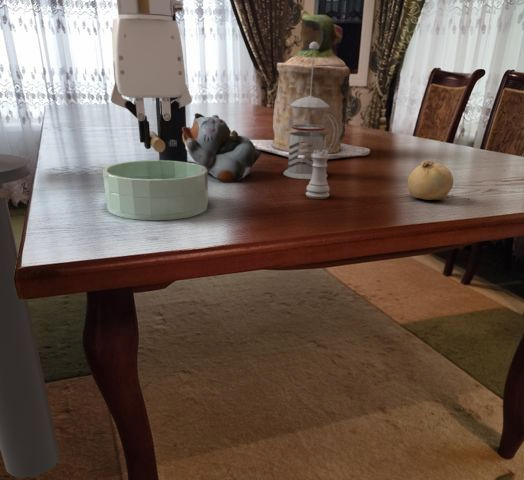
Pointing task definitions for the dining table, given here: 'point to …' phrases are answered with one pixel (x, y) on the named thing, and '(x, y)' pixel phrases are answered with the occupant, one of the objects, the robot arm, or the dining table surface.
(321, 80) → the cookie jar
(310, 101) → the french press
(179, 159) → the black water bottle
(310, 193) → the rook chess piece
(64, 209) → the dining table surface
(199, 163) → the lucky cat figurine
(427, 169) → the onion
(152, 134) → the stick
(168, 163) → the bowl
